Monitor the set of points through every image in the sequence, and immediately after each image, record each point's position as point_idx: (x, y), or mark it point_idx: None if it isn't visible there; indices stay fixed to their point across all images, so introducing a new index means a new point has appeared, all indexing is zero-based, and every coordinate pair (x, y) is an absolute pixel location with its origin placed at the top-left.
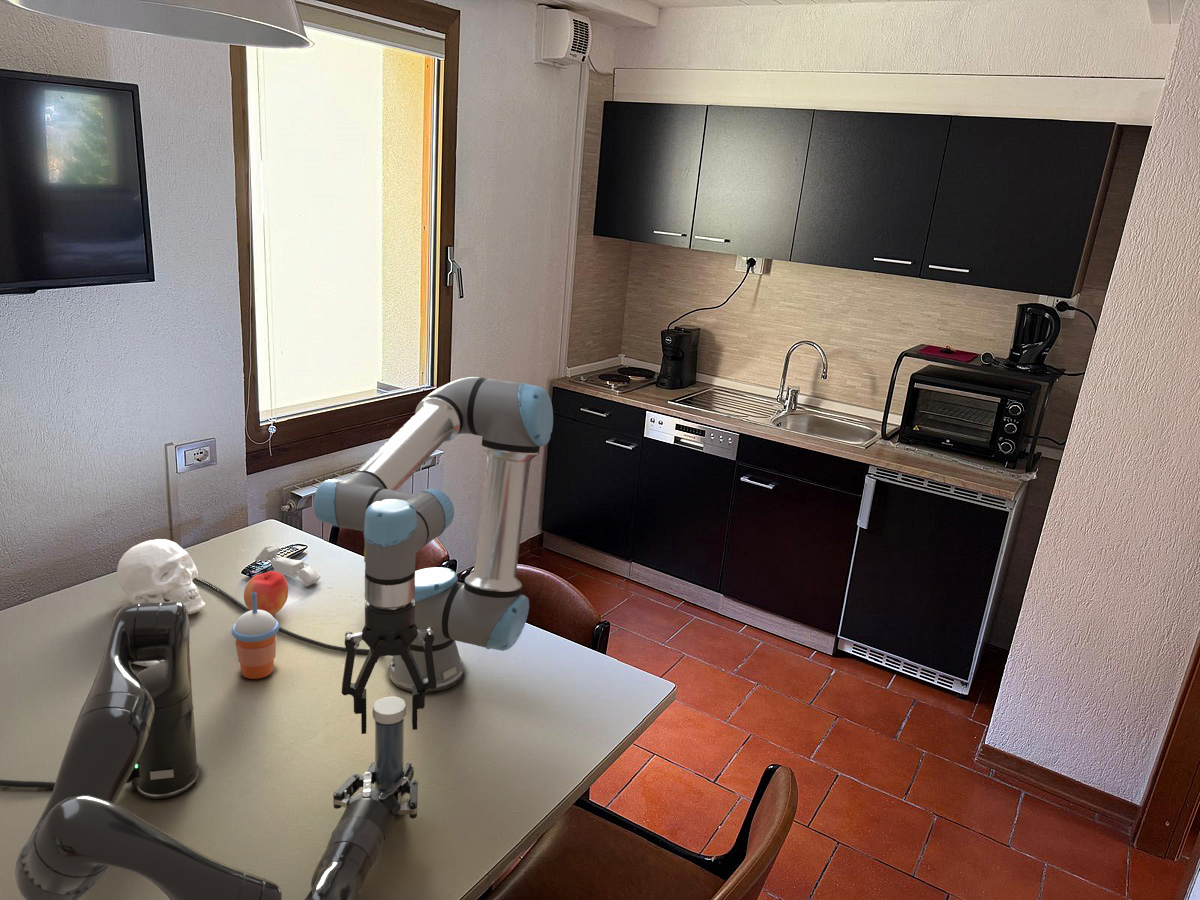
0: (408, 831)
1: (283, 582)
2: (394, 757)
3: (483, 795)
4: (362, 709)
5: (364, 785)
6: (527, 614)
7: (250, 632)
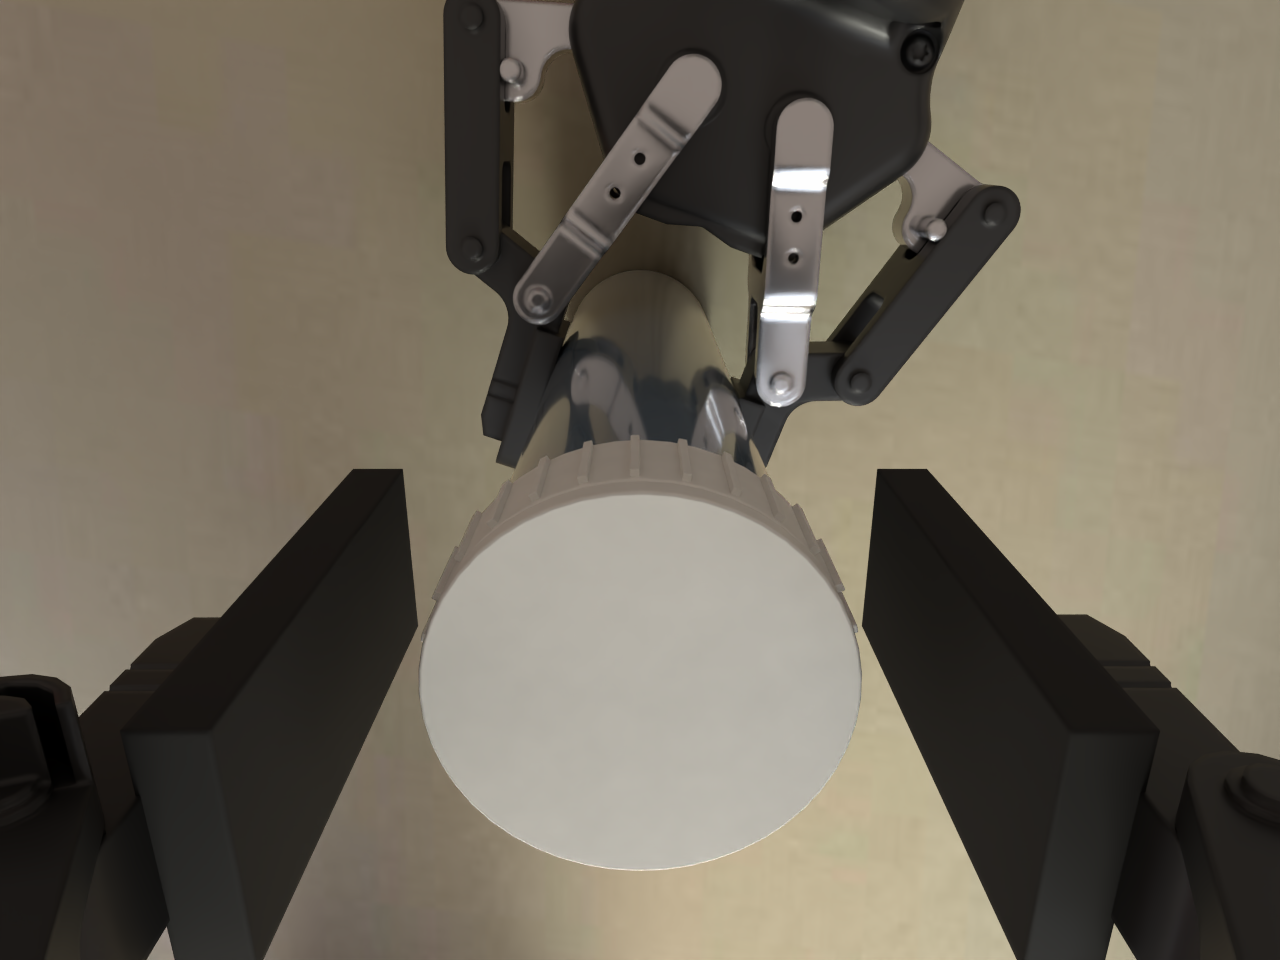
0: (541, 157)
1: None
2: (599, 353)
3: (157, 370)
4: (1039, 616)
5: (813, 245)
6: None
7: None
